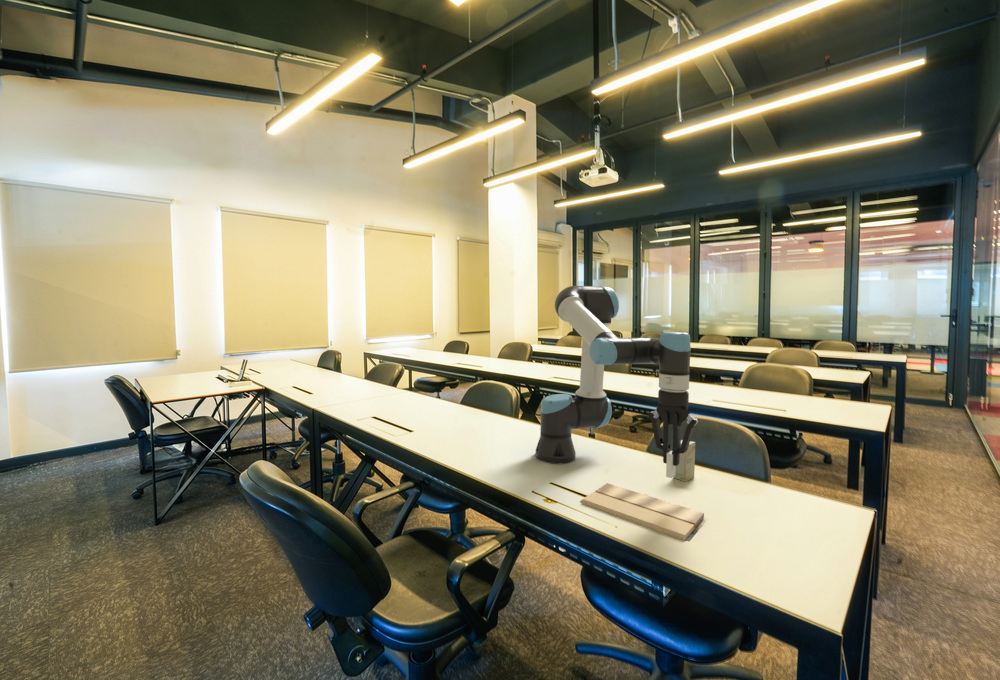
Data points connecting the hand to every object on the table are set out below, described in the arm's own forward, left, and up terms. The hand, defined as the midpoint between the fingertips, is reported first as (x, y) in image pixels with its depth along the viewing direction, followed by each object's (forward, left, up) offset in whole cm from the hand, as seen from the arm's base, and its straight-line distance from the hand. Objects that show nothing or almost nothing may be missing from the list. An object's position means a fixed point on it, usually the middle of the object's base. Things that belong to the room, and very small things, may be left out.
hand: (670, 475), depth 113 cm
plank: (-6, -1, -10) cm, 11 cm away
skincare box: (-6, +30, -11) cm, 32 cm away
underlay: (-6, -5, -11) cm, 13 cm away
